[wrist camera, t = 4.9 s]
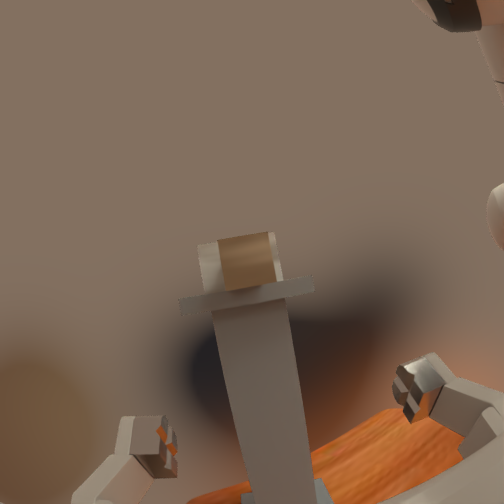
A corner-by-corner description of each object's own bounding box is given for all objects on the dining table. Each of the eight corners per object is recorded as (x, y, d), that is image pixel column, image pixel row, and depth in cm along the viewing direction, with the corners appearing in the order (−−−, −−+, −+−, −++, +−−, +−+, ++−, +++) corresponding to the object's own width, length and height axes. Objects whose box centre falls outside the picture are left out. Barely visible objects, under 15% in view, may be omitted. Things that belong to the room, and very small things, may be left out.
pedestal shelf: (321, 484, 34) (289, 279, 38) (343, 527, 24) (312, 275, 27) (242, 500, 33) (194, 296, 37) (245, 547, 23) (178, 298, 26)
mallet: (209, 293, 35) (201, 251, 36) (276, 281, 36) (268, 240, 36) (183, 298, 17) (171, 214, 18) (317, 274, 18) (301, 193, 18)
